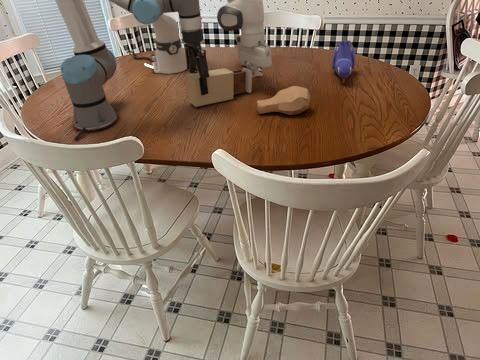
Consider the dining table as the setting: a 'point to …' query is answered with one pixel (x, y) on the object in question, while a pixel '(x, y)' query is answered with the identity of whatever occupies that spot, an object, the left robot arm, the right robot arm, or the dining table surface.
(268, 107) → the squash
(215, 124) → the dining table surface
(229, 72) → the beige rectangular block
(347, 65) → the toy
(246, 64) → the grey and red gadget
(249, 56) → the right robot arm
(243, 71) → the drawer
